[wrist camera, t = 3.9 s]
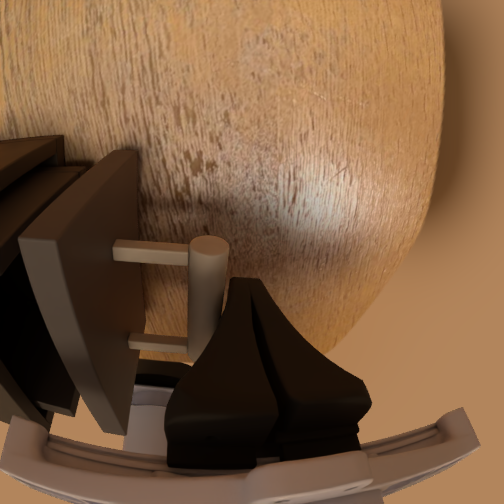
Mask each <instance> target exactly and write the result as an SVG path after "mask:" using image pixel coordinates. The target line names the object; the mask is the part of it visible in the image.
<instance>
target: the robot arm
mask: <svg viewBox="0 0 504 504" xmlns="http://www.w3.org/2000/svg"><path fill="white" fill-rule="evenodd" d="M371 405H372V401H371V398H370V396H369V393H368V390H367V388H366V386H365V384H364V382H363V380H361V379H359V378H357V377H356V376H354V375H352V374H350V373H349V372H347V371H345V370H344V369H342V368H341V367H339V366H337V365H336V364H335V363H333V362H332V361H330V360H329V359H327V358H326V357H325V356H324V355H323V354H321V353H320V352H319V351H318V350H317V349H315V348H314V347H313V346H312V345H311V344H310V343H309V342H308V341H306V340H305V339H304V338H303V337H302V336H301V334H300V333H299V332H298V331H297V330H296V329H295V328H294V327H293V326H292V324H291V323H290V322H289V321H288V319H287V318H286V317H285V316H284V314H283V313H282V312H281V310H280V309H279V307H278V306H277V305H276V303H275V302H274V300H273V299H272V297H271V296H270V294H269V293H268V291H267V289H266V288H265V286H264V284H263V283H262V281H261V280H260V279H258V278H241V277H232V278H231V279H230V282H229V289H228V297H227V302H226V306H225V309H224V311H223V314H222V316H221V319H220V321H219V323H218V325H217V328H216V330H215V332H214V333H213V335H212V337H211V339H210V341H209V342H208V344H207V346H206V347H205V349H204V351H203V352H202V354H201V355H200V356H199V358H198V359H197V360H196V362H195V363H194V365H193V366H192V367H191V368H190V370H189V371H188V372H187V373H186V374H185V375H184V377H183V378H182V379H181V380H180V381H179V382H178V383H177V384H176V387H168V386H157V385H147V384H139V383H134V388H133V394H132V401H131V408H130V415H129V422H128V430H127V435H126V436H124V443H123V451H122V450H116V449H111V448H106V447H101V446H96V445H91V444H87V443H83V442H78V441H74V440H71V439H67V438H63V437H59V436H56V435H52V434H49V433H48V431H47V430H46V429H45V428H44V427H43V426H42V425H40V424H38V423H36V422H34V421H31V420H28V419H25V418H22V417H19V416H16V415H13V416H12V419H11V422H10V426H9V429H8V432H7V436H6V440H5V444H4V448H3V452H2V456H1V460H0V470H1V471H3V472H4V473H6V474H7V475H9V476H11V477H12V478H14V479H16V480H17V481H19V482H21V483H22V484H24V485H26V486H28V487H30V488H32V489H34V490H37V491H39V492H42V493H45V494H47V495H50V496H53V497H56V498H59V499H61V500H64V501H68V502H71V503H74V504H384V502H383V498H382V497H384V496H387V495H390V494H392V493H395V492H397V491H400V490H402V489H405V488H407V487H410V486H412V485H414V484H417V483H419V482H421V481H423V480H425V479H427V478H430V477H432V476H434V475H436V474H438V473H440V472H442V471H444V470H446V469H448V468H450V467H452V466H453V465H455V464H456V463H458V462H459V461H461V460H462V459H464V458H465V457H467V456H468V455H470V454H471V453H473V452H474V451H476V450H477V449H478V448H480V443H479V441H478V439H477V436H476V434H475V432H474V429H473V427H472V425H471V423H470V421H469V419H468V417H467V415H466V413H465V411H464V409H463V407H461V408H458V409H456V410H453V411H451V412H448V413H446V414H445V415H443V416H442V417H441V418H439V419H438V420H437V422H436V423H433V424H430V425H427V426H425V427H422V428H419V429H415V430H412V431H409V432H406V433H402V434H399V435H395V436H392V437H388V438H385V439H381V440H377V441H372V442H368V443H364V444H360V443H359V440H358V437H357V433H358V432H359V427H358V424H357V423H358V422H359V421H360V420H361V419H362V418H363V416H364V415H365V414H366V413H367V412H368V411H369V409H370V408H371Z"/></svg>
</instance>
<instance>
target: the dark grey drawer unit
mask: <svg viewBox="0 0 504 504" xmlns="http://www.w3.org/2000/svg"><path fill="white" fill-rule="evenodd" d="M34 167H65V164H64V143H63V135H53V136H40V137H30V138H20V139H12V140H4V141H0V191H2V190H3V189H4V188H6V187H7V186H9V185H10V184H11V183H13V182H14V181H15V180H17V179H18V178H20V177H21V176H23V175H24V174H25V173H27V172H28V171H30V170H31V169H33V168H34ZM13 415H16V416H19V417H22V418H25V419H28V420H31V421H34V422H36V423H38V424H40V425H42V426H43V427H44V428H45V429H46V430H47V431H48V433H49V431H50V428H51V424H52V419H53V416H54V412H52V411H48V410H45V409H41V408H38V407H35V406H34V405H33V404H32V403H31V401H30V400H29V399H28V397H27V396H26V395H25V394H24V392H23V391H22V390H21V388H20V387H19V385H18V384H17V383H16V381H15V380H14V379H13V377H12V376H11V374H10V373H9V371H8V370H7V368H6V367H5V365H4V364H3V362H2V361H1V359H0V421H2V422H5V423H8V424H10V422H11V419H12V416H13Z"/></svg>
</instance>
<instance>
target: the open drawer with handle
mask: <svg viewBox="0 0 504 504" xmlns="http://www.w3.org/2000/svg"><path fill="white" fill-rule="evenodd" d="M137 166H138V151H137V150H113V151H112V152H111V153H109V154H108V155H107V156H105V157H104V158H103V159H102V160H100V161H99V162H98V163H97V164H95V165H94V166H93V167H92V168H91V169H89V170H88V171H87V172H86V167H85V166H70V167H34V168H33V169H31V170H30V171H28V172H27V173H25V174H24V175H23V176H21V177H20V178H18V179H17V180H15V181H14V182H13V183H11V184H10V185H9V186H7V187H6V188H4V189H3V190H2V191H0V359H1V361H2V362H3V364H4V365H5V367H6V368H7V370H8V371H9V373H10V374H11V376H12V377H13V379H14V380H15V381H16V383H17V384H18V385H19V387H20V388H21V390H22V391H23V392H24V394H25V395H26V396H27V397H28V399H29V400H30V401H31V403H32V404H33V405H34V406H35V407H38V408H41V409H45V410H48V411H52V412H56V413H59V414H63V415H67V416H71V417H75V413H76V409H77V406H78V401H79V398H80V395H81V397H82V399H83V400H84V402H85V404H86V405H87V407H88V409H89V410H90V412H91V414H92V415H93V417H94V418H95V420H96V421H97V423H98V424H99V426H100V427H101V429H102V430H103V432H106V433H111V434H117V435H123V436H126V435H127V430H128V422H129V415H130V408H131V401H132V394H133V388H134V382H135V376H136V370H137V365H138V359H139V354H140V350H148V351H158V352H170V353H183V354H186V353H187V350H188V356H189V357H190V359H191V360H192V361H194V362H196V360H197V359H198V358H199V356H200V355H201V354H202V352H203V351H204V349H205V347H206V346H207V344H208V342H209V341H210V339H211V337H212V335H213V333H214V332H215V330H216V328H217V325H218V323H219V321H220V319H221V314H222V305H223V297H224V289H225V280H226V272H227V264H228V256H229V245H228V243H227V242H226V241H225V240H224V239H222V238H220V237H217V236H211V235H203V236H198V237H196V238H194V239H193V240H192V241H191V242H190V245H189V244H178V243H164V242H150V241H139V232H138V199H137ZM140 263H153V264H166V265H179V266H188V263H189V271H188V338H187V337H178V336H165V335H154V334H144V329H145V324H146V316H145V307H144V298H143V288H142V277H141V265H140Z"/></svg>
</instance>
